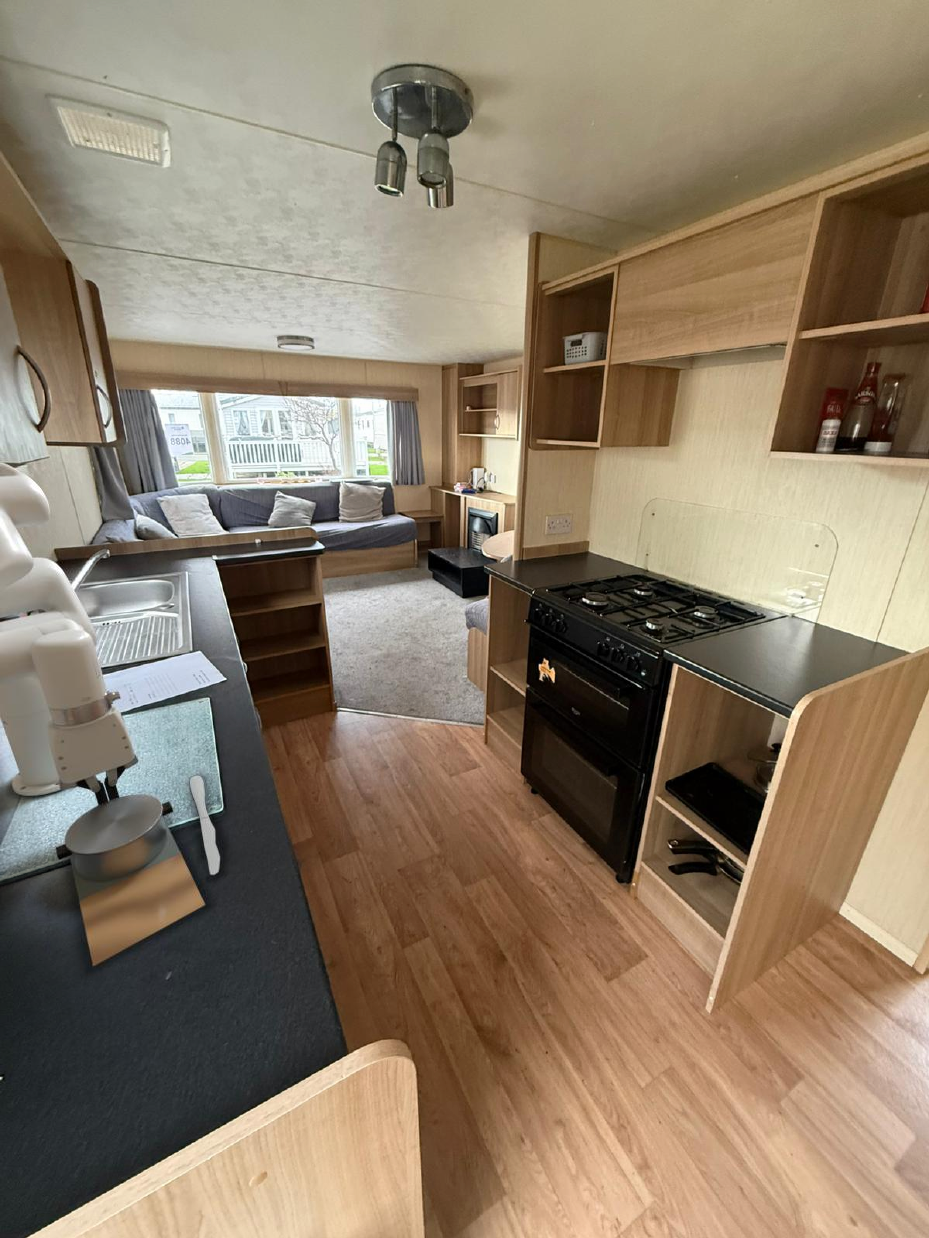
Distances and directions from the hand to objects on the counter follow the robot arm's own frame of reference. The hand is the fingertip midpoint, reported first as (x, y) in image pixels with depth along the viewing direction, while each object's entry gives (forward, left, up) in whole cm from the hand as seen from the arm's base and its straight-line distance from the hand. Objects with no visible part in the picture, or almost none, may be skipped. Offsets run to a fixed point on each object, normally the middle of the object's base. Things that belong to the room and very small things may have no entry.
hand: (109, 804), depth 85 cm
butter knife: (+10, +12, -4) cm, 16 cm away
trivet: (+22, 0, -4) cm, 22 cm away
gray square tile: (+9, 0, -4) cm, 10 cm away
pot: (+9, 0, -3) cm, 9 cm away
